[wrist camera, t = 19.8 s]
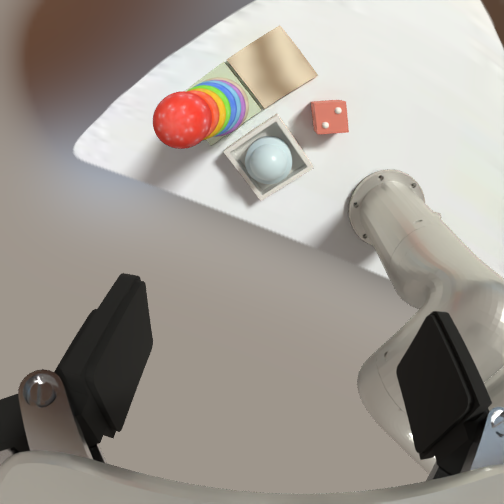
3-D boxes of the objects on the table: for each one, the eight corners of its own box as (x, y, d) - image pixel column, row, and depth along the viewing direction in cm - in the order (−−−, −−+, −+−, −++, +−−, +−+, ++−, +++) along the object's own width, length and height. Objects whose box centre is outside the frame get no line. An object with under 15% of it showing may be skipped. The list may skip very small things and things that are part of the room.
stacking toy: (227, 66, 36) (191, 54, 20) (261, 114, 39) (250, 136, 23) (179, 99, 38) (115, 115, 22) (212, 144, 41) (170, 188, 25)
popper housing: (277, 113, 39) (277, 115, 37) (311, 163, 43) (313, 168, 40) (226, 147, 42) (223, 151, 40) (261, 194, 46) (260, 201, 43)
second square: (224, 62, 36) (223, 61, 35) (261, 110, 39) (261, 110, 39) (175, 99, 39) (174, 99, 38) (212, 144, 42) (211, 145, 41)
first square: (279, 26, 33) (279, 25, 32) (317, 75, 36) (317, 75, 35) (227, 60, 36) (226, 59, 35) (264, 108, 39) (264, 108, 38)
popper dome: (274, 127, 39) (274, 133, 35) (299, 163, 41) (302, 173, 37) (238, 151, 41) (233, 160, 37) (263, 185, 43) (262, 199, 39)
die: (339, 99, 38) (346, 101, 34) (342, 127, 39) (349, 132, 36) (310, 101, 38) (314, 103, 34) (313, 129, 40) (318, 134, 36)
